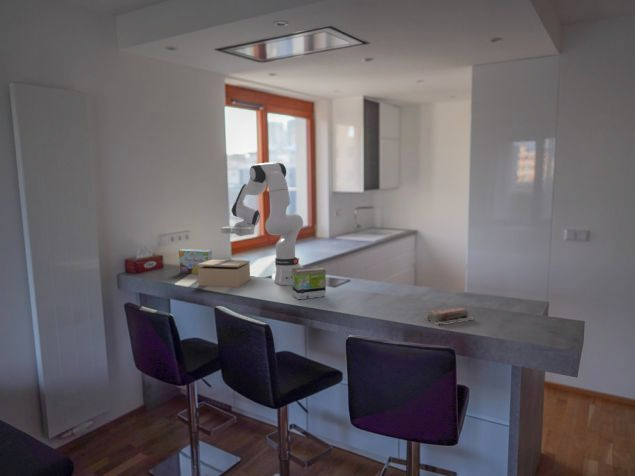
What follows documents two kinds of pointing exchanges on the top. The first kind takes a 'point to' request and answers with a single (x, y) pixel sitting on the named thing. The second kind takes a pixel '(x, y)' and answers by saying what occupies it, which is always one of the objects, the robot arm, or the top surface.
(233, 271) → the carton
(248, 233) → the robot arm
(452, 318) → the packaged product
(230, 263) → the carton lid
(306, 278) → the tea box
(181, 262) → the snack box
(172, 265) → the top surface
